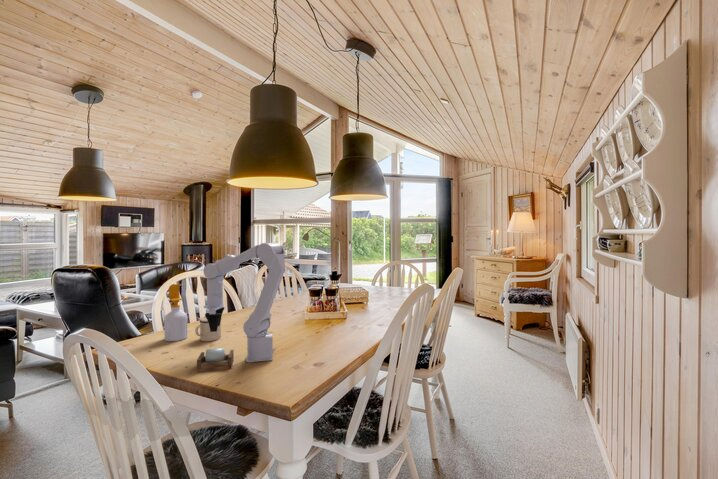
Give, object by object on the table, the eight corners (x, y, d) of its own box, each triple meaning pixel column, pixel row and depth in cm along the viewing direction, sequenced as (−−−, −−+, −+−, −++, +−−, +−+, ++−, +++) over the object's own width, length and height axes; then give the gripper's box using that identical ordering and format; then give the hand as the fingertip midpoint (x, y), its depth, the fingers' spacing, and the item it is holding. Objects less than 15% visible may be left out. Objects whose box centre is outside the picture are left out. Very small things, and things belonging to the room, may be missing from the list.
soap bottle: (167, 343, 148) (166, 286, 147) (162, 338, 155) (162, 283, 154) (189, 338, 154) (189, 284, 153) (184, 334, 160) (183, 281, 160)
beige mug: (212, 334, 160) (212, 309, 160) (226, 337, 156) (225, 311, 156) (189, 341, 150) (188, 314, 150) (202, 344, 145) (202, 317, 145)
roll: (225, 360, 125) (225, 346, 126) (224, 363, 121) (224, 349, 121) (207, 361, 124) (207, 347, 124) (205, 365, 119) (205, 351, 119)
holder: (233, 360, 127) (233, 349, 127) (231, 368, 120) (231, 357, 120) (201, 363, 124) (201, 352, 124) (197, 371, 117) (196, 360, 117)
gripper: (207, 291, 140) (207, 324, 140) (200, 297, 126) (200, 334, 126) (225, 290, 142) (225, 323, 142) (220, 296, 127) (221, 333, 128)
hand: (215, 328), depth 134 cm, fingers open, 7 cm apart
